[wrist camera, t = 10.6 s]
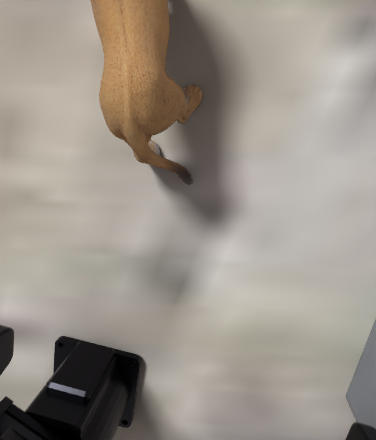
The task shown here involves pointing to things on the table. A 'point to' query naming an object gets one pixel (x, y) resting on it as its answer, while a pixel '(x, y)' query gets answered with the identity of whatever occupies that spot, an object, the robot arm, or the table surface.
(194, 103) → the lion figurine
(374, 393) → the low wall
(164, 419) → the table surface
